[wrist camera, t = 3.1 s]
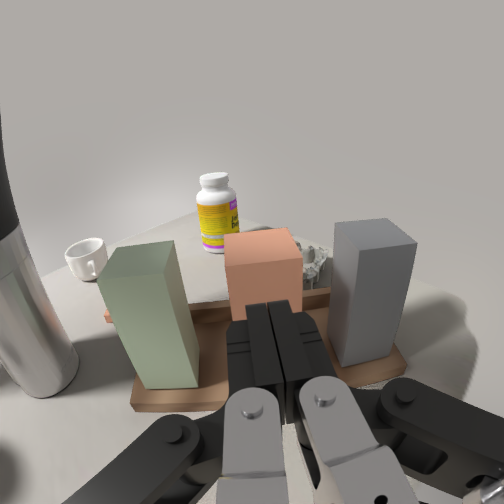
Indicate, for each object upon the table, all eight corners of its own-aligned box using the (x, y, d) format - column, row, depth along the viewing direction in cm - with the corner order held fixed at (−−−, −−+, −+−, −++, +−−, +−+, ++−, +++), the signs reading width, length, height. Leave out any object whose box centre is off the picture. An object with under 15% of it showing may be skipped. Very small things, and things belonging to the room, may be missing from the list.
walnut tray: (135, 411, 23) (121, 390, 22) (152, 330, 34) (144, 307, 32) (403, 374, 25) (412, 350, 23) (361, 304, 35) (364, 281, 34)
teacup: (70, 274, 47) (61, 249, 45) (105, 259, 52) (97, 233, 49) (82, 297, 41) (70, 268, 38) (122, 278, 45) (113, 249, 43)
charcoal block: (341, 367, 25) (359, 250, 19) (326, 332, 29) (334, 222, 24) (388, 355, 25) (417, 243, 19) (369, 323, 29) (386, 218, 24)
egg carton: (286, 257, 48) (286, 234, 46) (331, 265, 45) (332, 241, 43) (255, 292, 40) (253, 265, 38) (307, 305, 37) (308, 277, 35)
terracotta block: (242, 383, 24) (224, 266, 19) (239, 344, 29) (223, 234, 23) (299, 375, 24) (302, 257, 19) (288, 338, 29) (287, 227, 23)
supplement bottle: (239, 254, 50) (231, 178, 44) (200, 256, 50) (188, 182, 44) (242, 237, 56) (235, 169, 50) (207, 239, 56) (197, 172, 50)
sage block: (145, 388, 24) (96, 280, 18) (152, 351, 28) (116, 247, 23) (198, 387, 24) (163, 273, 18) (199, 348, 28) (173, 240, 23)
